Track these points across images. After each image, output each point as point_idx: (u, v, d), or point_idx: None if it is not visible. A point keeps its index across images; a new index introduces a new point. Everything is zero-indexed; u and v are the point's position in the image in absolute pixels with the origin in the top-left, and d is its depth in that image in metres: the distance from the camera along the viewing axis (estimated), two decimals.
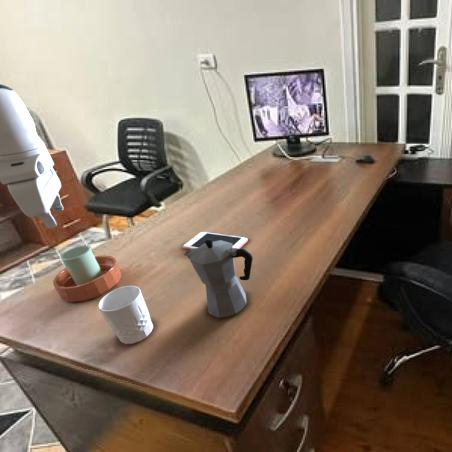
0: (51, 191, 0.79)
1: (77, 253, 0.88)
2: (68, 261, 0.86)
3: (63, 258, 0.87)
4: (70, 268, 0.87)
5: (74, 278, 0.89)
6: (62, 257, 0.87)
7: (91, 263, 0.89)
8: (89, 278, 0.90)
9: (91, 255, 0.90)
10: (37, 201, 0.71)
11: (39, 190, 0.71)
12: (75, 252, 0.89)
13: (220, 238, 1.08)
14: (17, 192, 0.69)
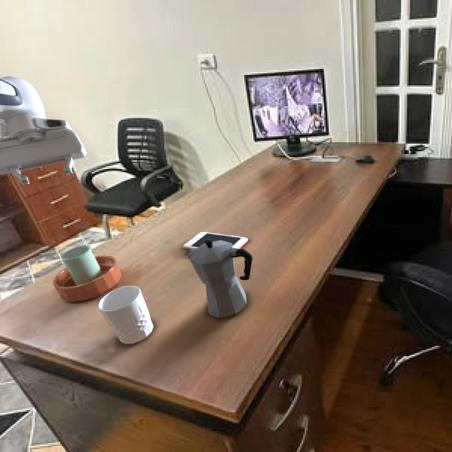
0: None
1: (77, 253, 0.88)
2: (68, 261, 0.86)
3: (63, 258, 0.87)
4: (70, 268, 0.87)
5: (74, 278, 0.89)
6: (62, 257, 0.87)
7: (91, 263, 0.89)
8: (89, 278, 0.90)
9: (91, 255, 0.90)
10: None
11: None
12: (75, 252, 0.89)
13: (220, 238, 1.08)
14: None
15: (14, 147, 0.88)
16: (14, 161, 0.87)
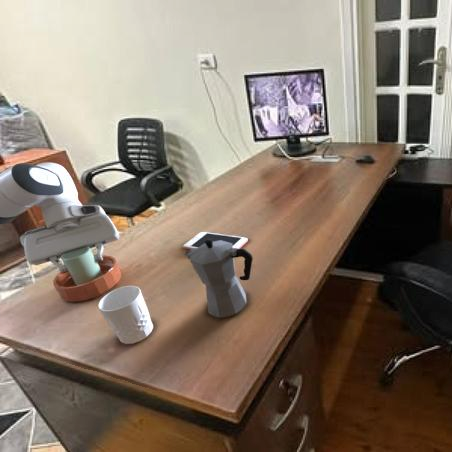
0: None
1: (77, 253, 0.88)
2: (68, 261, 0.86)
3: (63, 258, 0.87)
4: (70, 268, 0.87)
5: (74, 278, 0.89)
6: (62, 257, 0.87)
7: (91, 263, 0.89)
8: (89, 278, 0.90)
9: (91, 255, 0.90)
10: None
11: None
12: (75, 252, 0.89)
13: (220, 238, 1.08)
14: (109, 218, 0.95)
15: (50, 237, 0.89)
16: (50, 252, 0.87)
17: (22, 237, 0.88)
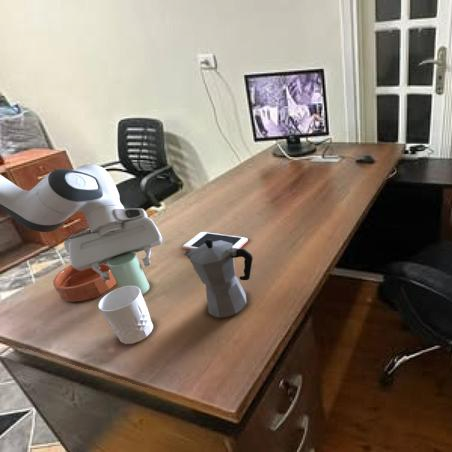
0: None
1: (124, 260, 0.85)
2: (115, 267, 0.83)
3: (110, 265, 0.83)
4: (117, 275, 0.84)
5: (120, 285, 0.86)
6: (109, 264, 0.84)
7: (137, 270, 0.86)
8: (135, 285, 0.87)
9: (137, 261, 0.87)
10: None
11: None
12: (121, 258, 0.86)
13: (220, 238, 1.08)
14: (152, 222, 0.92)
15: (94, 241, 0.86)
16: (95, 257, 0.84)
17: (66, 242, 0.85)
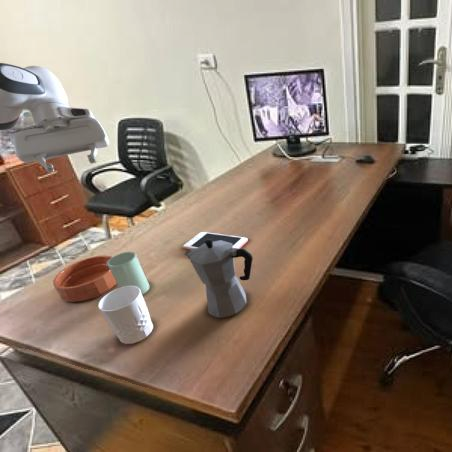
0: None
1: (124, 260, 0.85)
2: (115, 267, 0.83)
3: (110, 265, 0.83)
4: (117, 275, 0.84)
5: (120, 285, 0.86)
6: (109, 264, 0.84)
7: (137, 270, 0.86)
8: (135, 285, 0.87)
9: (137, 261, 0.87)
10: None
11: None
12: (121, 258, 0.86)
13: (220, 238, 1.08)
14: (99, 123, 0.95)
15: (39, 135, 0.89)
16: (39, 149, 0.88)
17: (11, 134, 0.88)
